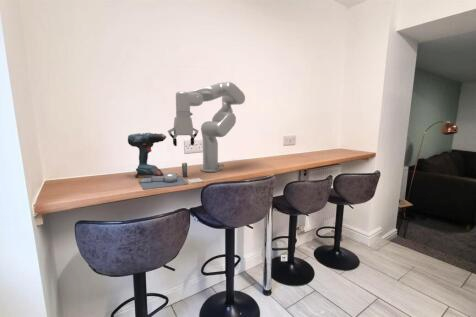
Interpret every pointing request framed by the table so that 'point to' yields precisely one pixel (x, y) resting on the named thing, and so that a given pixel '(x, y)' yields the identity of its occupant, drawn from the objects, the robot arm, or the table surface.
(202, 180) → the pad
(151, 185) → the board
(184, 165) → the key
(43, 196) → the table surface
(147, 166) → the power drill
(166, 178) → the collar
